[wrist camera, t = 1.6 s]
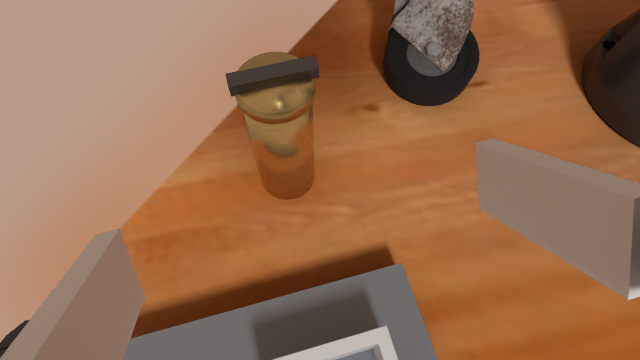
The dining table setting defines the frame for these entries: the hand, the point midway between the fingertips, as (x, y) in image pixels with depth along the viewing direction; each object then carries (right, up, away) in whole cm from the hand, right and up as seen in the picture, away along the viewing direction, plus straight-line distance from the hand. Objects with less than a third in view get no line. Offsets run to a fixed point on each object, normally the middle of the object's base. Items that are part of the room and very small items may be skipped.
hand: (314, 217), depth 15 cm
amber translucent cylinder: (-2, +2, +20) cm, 20 cm away
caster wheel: (+11, +13, +26) cm, 31 cm away
